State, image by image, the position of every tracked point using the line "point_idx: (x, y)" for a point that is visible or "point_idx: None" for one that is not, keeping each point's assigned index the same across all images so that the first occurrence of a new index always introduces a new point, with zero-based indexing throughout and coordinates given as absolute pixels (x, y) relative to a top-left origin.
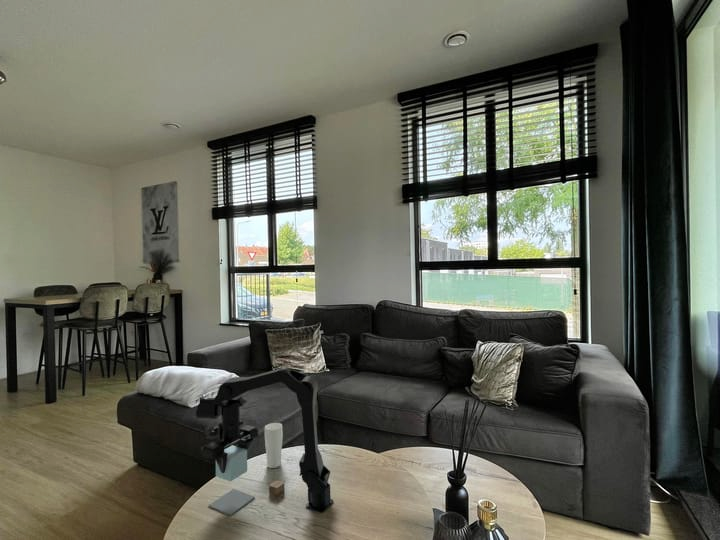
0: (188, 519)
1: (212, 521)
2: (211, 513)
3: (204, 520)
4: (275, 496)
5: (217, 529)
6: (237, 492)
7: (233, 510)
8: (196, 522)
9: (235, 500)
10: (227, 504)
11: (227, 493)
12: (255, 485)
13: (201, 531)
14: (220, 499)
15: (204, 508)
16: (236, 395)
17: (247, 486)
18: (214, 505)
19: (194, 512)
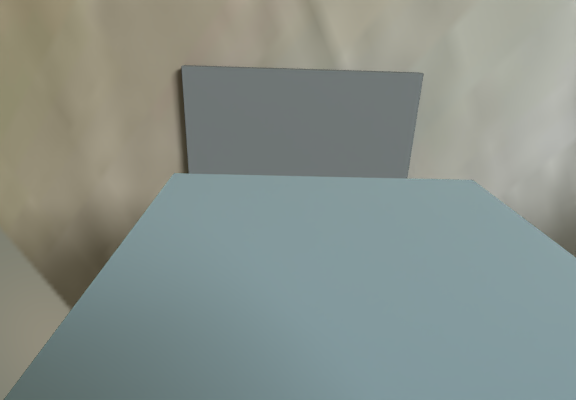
0: (15, 53)
1: (107, 215)
2: (150, 147)
3: (82, 164)
4: None
5: (86, 287)
6: (393, 141)
7: None
8: (38, 134)
9: None
10: None
11: (354, 81)
12: (520, 176)
13: (19, 228)
14: (274, 93)
15: (155, 52)
16: None
17: (494, 133)
18: (202, 112)
19: (83, 21)
